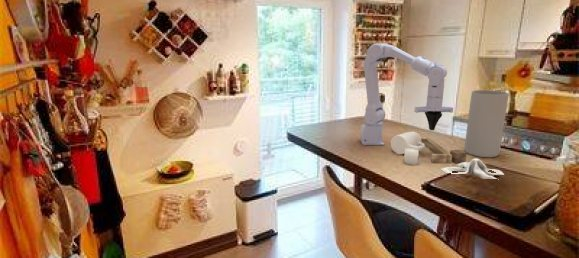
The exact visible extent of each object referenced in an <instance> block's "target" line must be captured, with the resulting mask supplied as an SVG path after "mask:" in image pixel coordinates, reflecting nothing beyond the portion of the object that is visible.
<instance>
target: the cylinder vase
mask: <svg viewBox="0 0 579 258" xmlns="http://www.w3.org/2000/svg"><path fill="white" fill-rule="evenodd" d="M509 96H510V94H509V92H506V91H503V90H501V91H500V90H493V89H492V90H488V89H477V90H476V89H475V90H471V96H470V103H469V109H468V110H469V111H468V118H467V127H466V133H465V138H464V139H465V140H464V147H463V149H464V152H466V153H467V154H469V155H472V156H475V157H479V158H480V157H481V158H495V157H498V156H499V155H500V152H501V145H502V140H503V132H504V127H505V120H506V115H507V108H508V102H509Z"/></svg>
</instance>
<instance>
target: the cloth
mask: <svg viewBox="0 0 579 258" xmlns="http://www.w3.org/2000/svg"><path fill="white" fill-rule="evenodd" d="M458 166H459V167H458ZM463 167H464V168H463ZM439 170H440V171H441V170H442V171H441V172H443V173H444V172H445V173H444V174H446V173H451V174H468V173H472V174H473V175H475V176H478V177H480V178H482V179H498V177H497V178H496V177H494V175H505V174H504V173H503V171H502V170H499V169H495V168H488V167H487V165H486V164H485V163H484V162H483V161H482V160H481V159H479V158H473V159H471V161H470V162H467V161H466V162H463V163H456V166H448V167H447V166H446V167H442V168H440V169H439ZM489 170H492V171H494V172H496V173H491V172H488V171H489ZM452 171H465V172H458V173H452Z"/></svg>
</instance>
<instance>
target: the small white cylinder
mask: <svg viewBox="0 0 579 258" xmlns="http://www.w3.org/2000/svg"><path fill="white" fill-rule="evenodd" d="M419 152H420V150H418V149H415V148H406V149H405V153H404V156H403V157H404V158H403V163H404V164H406V165H413V166H414V165H417V164H419V163H418V162H419Z"/></svg>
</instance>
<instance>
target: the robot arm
mask: <svg viewBox="0 0 579 258" xmlns="http://www.w3.org/2000/svg"><path fill="white" fill-rule="evenodd" d="M390 57H392V58H395V59H397V60H400V61H402V62H404V63H406V64H408V65H410V66H411V67H410V68H411V69H412V70H413V71H415V72H417V73H419V74H421V75H423V76H425V77H427V79H428V85H427V95H426V105H425V106H415V107H414V113H417V114H418V113H424V114H425V117H426V120H427V123H428V129H429V131H435V129H436V126H437V124H438V122H439V120H440V119H441V118H442V116H443V113H450V114H451V113H453V112H454V107H453V106H443V100H444V93H445V91H444V90H445V80H446V79H445V78H446V77H447V74H448V70H447V68H446V67H445V66H444V65H442V64H438V63H437V62H436V61H431V60H429V59H427V57H426V56H424V55H423V56H420V55H419V56H416V57H415V56H413V55H411V54H409V53H407V52H406V51H404V50H403V49H400V48H399V47H396V46H395V45H392V44H389V43H386V42H382V43H377V42H376V43H375V42H374V43H373V44H371V45H370V46H369V47H368V48H367V51H366V55H365V59H364V60H363V61H364V62H363V71H364V79H365V80H364V81H365V90H366V99H367V104H366V106H365V113H364V117H363V118H364V119H363V120H364V121H365V123H361V124H360V139H359V141H360V142H361V144H362V145H363V146H384V145H385V143H384V141H383V128H384V126H383V125H384V122H383V120H385V119H386V112H385V110H384V107H383V104H382V102H381V98H380V88H379V76H378V70H377V66H378V65H379V64H380V63H381V62H382V61H383V60H386V59H387V58H390Z"/></svg>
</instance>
